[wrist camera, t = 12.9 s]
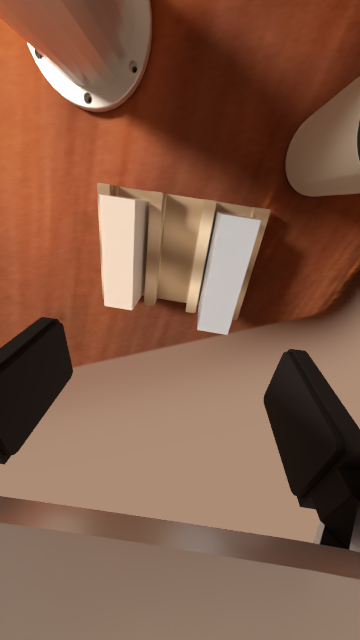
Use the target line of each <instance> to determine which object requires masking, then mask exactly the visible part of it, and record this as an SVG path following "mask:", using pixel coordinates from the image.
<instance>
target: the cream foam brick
mask: <svg viewBox="0 0 360 640" xmlns="http://www.w3.org/2000/svg"><path fill="white" fill-rule="evenodd" d="M99 197H100V219H101V241H102V263H103V285H104V306H109V307H115V308H121V309H127V310H133V308H134V307H135V305H136V304H137V302H138V301H139V299H140V298H141V296H142V295H143V293H144V292H145V278H146V260H147V242H148V225H149V207H150V201H148V200H142V199H136V198H129V197H122V196H112V195H101V194H99Z"/></svg>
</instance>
